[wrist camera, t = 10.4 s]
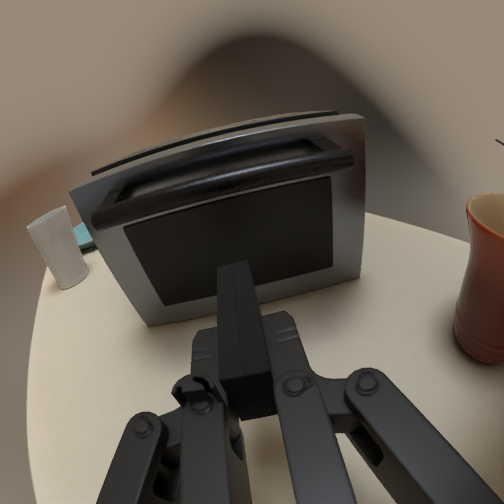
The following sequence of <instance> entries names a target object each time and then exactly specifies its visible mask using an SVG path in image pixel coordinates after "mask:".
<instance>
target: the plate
mask: <svg viewBox="0 0 504 504" xmlns="http://www.w3.org/2000/svg"><path fill="white" fill-rule="evenodd" d="M73 231H74V234H75V237H76V240H77V243H78V246H79V248H80V249H86V248H90V247H93V246H95V243H94V241H93V239H92V237H91V236H90V234H89V232H88V230H87V228H86V226H85V224H84V223H82V224H80V225H78V226H77V227H75V228H74V229H73Z"/></svg>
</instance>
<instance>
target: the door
mask: <svg viewBox="0 0 504 504" xmlns="http://www.w3.org/2000/svg"><path fill="white" fill-rule="evenodd" d="M365 192H366V146H365V120H364V117H362V116H359V115H357V114H344V115H334V116H325V117H316V118H309V119H302V120H295V121H289V122H282V123H277V124H271V125H266V126H260V127H255V128H250V129H245V130H241V131H236V132H232V133H227V134H223V135H219V136H215V137H211V138H207V139H203V140H199V141H196V142H192V143H188V144H185V145H181V146H178V147H175V148H171V149H168V150H165V151H161V152H158V153H155V154H152V155H149V156H146V157H143V158H140V159H137V160H134V161H132V162H129V163H126V164H123V165H121V166H118V167H115V168H113V169H110V170H107V171H105V172H102V173H100V174H97V175H95V176H92V177H90V178H88V179H85V180H83V181H81V182H79V183H76V184H75V186H74V187H73V188H72V189H71V190H70V191H69V194H70V196H71V198H72V200H73V202H74V204H75V206H76V208H77V210H78V212H79V214H80V216H81V218H82V220H83V222H84V224H85V226H86V228H87V230H88V232H89V234H90V236H91V237H92V239H93V241H94V243H95V245H96V246H97V248H98V250H99V252H100V254H101V255H102V257H103V259H104V260H105V262H106V264H107V265H108V267H109V269H110V270H111V272H112V274H113V275H114V277H115V279H116V280H117V282H118V283H119V285H120V287H121V288H122V290H123V291H124V293H125V294H126V296H127V297H128V299H129V300H130V302H131V303H132V305H133V306H134V308H135V309H136V311H137V312H138V314H139V315H140V317H141V318H142V319H143V321H144V322H145V324H146V325H147V326H148V327H152V326H157V325H163V324H168V323H173V322H179V321H184V320H189V319H194V318H199V317H203V316H208V315H213V314H217V267H220V266H224V265H228V264H232V263H236V262H241V261H245V260H248V263H249V267H250V271H251V275H252V279H253V283H254V287H255V290H256V294H257V298H258V302H259V304H262V303H266V302H270V301H274V300H278V299H282V298H286V297H290V296H294V295H298V294H302V293H306V292H309V291H313V290H317V289H321V288H324V287H328V286H332V285H335V284H339V283H342V282H346V281H349V280H353V279H356V278H359V277H360V271H361V261H362V249H363V236H364V220H365V194H366V193H365Z"/></svg>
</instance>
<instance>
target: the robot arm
mask: <svg viewBox="0 0 504 504" xmlns="http://www.w3.org/2000/svg"><path fill="white" fill-rule="evenodd" d="M496 141H497V142H499V143H501V144H502V145H504V143H502V142H500V141H499V140H497V139H496ZM171 394H172V395H173V396H174V398H175V399H176V400H177V401H178V403H179V404H180V405H181V406H180V407H179V408H178V409H176V410H174V411H171V412H169V413H166V414H164V415H161V416H157V415H156V414H154V413H151V412H141V413H138V414H136V415H135V416H133V417H132V418H131V419H130V420H129V422H128V423H127V425H126V428H125V430H124V433H123V435H122V437H121V440H120V442H119V445H118V447H117V450H116V452H115V455H114V457H113V460H112V462H111V465H110V467H109V470H108V473H107V475H106V478H105V481H104V483H103V486H102V489H101V491H100V494H99V497H98V499H97V502H96V504H252V499H251V492H250V484H249V477H248V469H247V461H246V453H245V445H244V437H243V433H242V430H241V428H240V426H239V418H240V420H241V421H245V420H251V419H256V418H262V417H267V416H271V415H276V414H278V417H279V421H280V426H281V431H282V436H283V441H284V446H285V451H286V456H287V460H288V465H289V470H290V475H291V480H292V484H293V489H294V494H295V499H296V503H297V504H357V501H356V498H355V495H354V492H353V488H352V485H351V482H350V479H349V476H348V473H347V469H346V466H345V463H344V460H343V457H342V454H341V451H340V448H339V445H338V441H337V438H336V435H335V433H345V434H346V436H347V437H348V439H349V440H350V441H351V443H352V444H353V445H354V447H355V448H356V450H357V451H358V452H359V454H360V455H361V456H362V458H363V459H364V461H365V462H366V463H367V465H368V466H369V467H370V469H371V470H372V471H373V473H374V474H375V475H376V477H377V478H378V479H379V481H380V482H381V483H382V485H383V486H384V487H385V489H386V490H387V491H388V493H389V494H390V495H391V497H392V498H393V499H394V500H395V502H396V503H397V504H504V503H503V501H502V500H501V499H500V498H499V497H498V496H497V495H496V494H495V493H494V491H493V490H492V489H491V488H490V487H489V486H488V485H487V484H486V483H485V481H484V480H483V479H482V478H481V477H480V476H479V475H478V474H477V473H476V471H475V470H474V469H473V468H472V467H471V466H470V465H469V464H468V463H467V462H466V461H465V459H464V458H463V457H462V456H461V455H460V454H459V453H458V452H457V451H456V450H455V449H454V448H453V446H452V445H451V444H450V443H449V442H448V441H447V440H446V439H445V438H444V437H443V436H442V435H441V434H440V432H439V431H438V430H437V429H436V428H435V427H434V426H433V425H432V424H431V423H430V422H429V421H428V420H427V419H426V417H425V416H424V415H423V414H422V413H421V412H420V411H419V410H418V409H417V408H416V407H415V406H414V405H413V404H412V403H411V401H410V400H409V399H408V398H407V397H406V396H405V395H404V394H403V393H402V392H401V391H400V390H399V389H398V388H397V387H396V386H395V385H394V384H393V382H392V381H391V380H390V379H389V378H388V377H387V376H386V375H385V374H384V373H382V372H381V371H379V370H378V369H374V368H361V369H359V370H356V371H354V372H353V373H352V374H351V375H349V376H348V378H345V379H329V378H324V377H321V376H319V375H317V374H316V373H315V372H314V371H313V370H312V369H311V367H310V365H309V362H308V360H307V357H306V354H305V351H304V348H303V345H302V342H301V339H300V337H299V334H298V331H297V328H296V325H295V322H294V319H293V317H292V316H290V315H289V314H288V313H287V312H286V311H281V312H277V313H273V314H269V315H265V316H261V311H260V307H259V302H258V298H257V294H256V290H255V287H254V283H253V279H252V275H251V271H250V267H249V263H248V260H245V261H241V262H236V263H232V264H228V265H224V266H220V267H217V327H214V328H209V329H204V330H199V331H198V332H197V334H196V336H195V337H194V339H193V344H192V361H191V374H189V375H186V376H184V377H183V378H181V379H180V380H178V381H177V383H176V384H175V385H174V386H173V389H172V392H171Z"/></svg>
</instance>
